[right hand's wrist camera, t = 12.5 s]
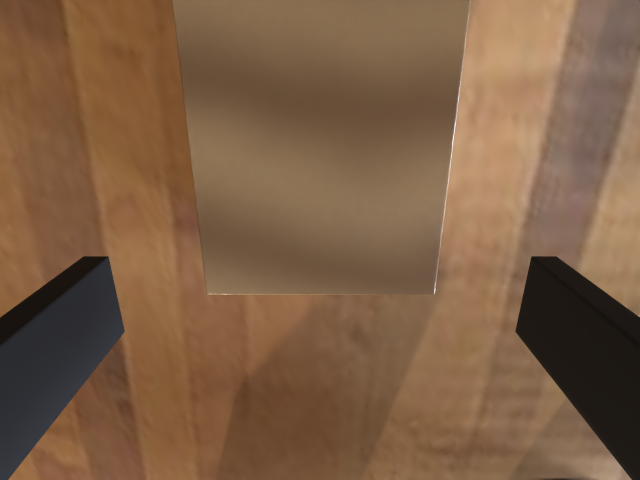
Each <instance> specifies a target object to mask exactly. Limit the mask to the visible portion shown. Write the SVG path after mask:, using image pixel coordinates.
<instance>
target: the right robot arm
mask: <svg viewBox="0 0 640 480" xmlns="http://www.w3.org/2000/svg"><path fill="white" fill-rule="evenodd" d="M124 332H125V331H124V326H123V322H122V317H121V313H120V308H119V303H118V299H117V294H116V289H115V285H114V280H113V276H112V271H111V266H110V262H109V257H82V258H81V259H80V260H78V261H77V262H76V263H74V264H73V265H71V266H70V267H69V268H67V269H66V270H65V271H63V272H62V273H61V274H59V275H58V276H56V277H55V278H54V279H52V280H51V281H50V282H48V283H47V284H46V285H44V286H43V287H41V288H40V289H39V290H37V291H36V292H35V293H33V294H32V295H31V296H29V297H28V298H26V299H25V300H24V301H22V302H21V303H20V304H18V305H17V306H16V307H14V308H13V309H11V310H10V311H9V312H7V313H6V314H5V315H3V316H2V317H0V480H8V479H9V478H10V477H11V475H12V474H13V473H14V471H15V470H16V469H17V468H18V466H19V465H20V464H21V463H22V461H23V460H24V459H25V457H26V456H27V455H28V454H29V452H30V451H31V450H32V449H33V447H34V446H35V445H36V443H37V442H38V441H39V440H40V438H41V437H42V436H43V435H44V433H45V432H46V431H47V430H48V428H49V427H50V426H51V424H52V423H53V422H54V421H55V419H56V418H57V417H58V416H59V414H60V413H61V412H62V410H63V409H64V408H65V407H66V405H67V404H68V403H69V402H70V400H71V399H72V398H73V396H74V395H75V394H76V393H77V391H78V390H79V389H80V388H81V386H82V385H83V384H84V383H85V381H86V380H87V379H88V377H89V376H90V375H91V374H92V372H93V371H94V370H95V369H96V367H97V366H98V365H99V363H100V362H101V361H102V360H103V358H104V357H105V356H106V355H107V353H108V352H109V351H110V349H111V348H112V347H113V346H114V344H115V343H116V342H117V341H118V339H119V338H120V337H121V335H122V334H123V333H124ZM515 332H516V333H517V334H518V335H519V337H520V338H521V339H522V341H523V342H524V343H525V344H526V346H527V347H528V348H529V349H530V351H531V352H532V353H533V355H534V356H535V357H536V358H537V360H538V361H539V362H540V363H541V365H542V366H543V367H544V369H545V370H546V371H547V372H548V374H549V375H550V376H551V377H552V379H553V380H554V381H555V383H556V384H557V385H558V386H559V388H560V389H561V390H562V391H563V393H564V394H565V395H566V396H567V398H568V399H569V400H570V402H571V403H572V404H573V405H574V407H575V408H576V409H577V410H578V412H579V413H580V414H581V416H582V417H583V418H584V419H585V421H586V422H587V423H588V424H589V426H590V427H591V428H592V430H593V431H594V432H595V433H596V435H597V436H598V437H599V438H600V440H601V441H602V442H603V443H604V445H605V446H606V447H607V449H608V450H609V451H610V452H611V454H612V455H613V456H614V457H615V459H616V460H617V461H618V463H619V464H620V465H621V466H622V468H623V469H624V470H625V471H626V473H627V474H628V475H629V477H630V478H631V479H632V480H640V317H638V316H637V315H635V314H634V313H633V312H631V311H630V310H629V309H627V308H626V307H624V306H623V305H622V304H620V303H619V302H618V301H616V300H615V299H614V298H612V297H611V296H609V295H608V294H607V293H605V292H604V291H603V290H601V289H600V288H599V287H597V286H596V285H594V284H593V283H592V282H590V281H589V280H588V279H586V278H585V277H584V276H582V275H581V274H579V273H578V272H577V271H575V270H574V269H573V268H571V267H570V266H569V265H567V264H566V263H564V262H563V261H562V260H560V259H559V258H558V257H531V262H530V266H529V271H528V276H527V280H526V285H525V289H524V294H523V299H522V303H521V308H520V313H519V317H518V322H517V326H516V331H515Z"/></svg>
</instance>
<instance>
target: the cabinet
mask: <svg viewBox="0 0 640 480" xmlns="http://www.w3.org/2000/svg"><path fill="white" fill-rule="evenodd" d="M172 3H173V12H174V20H175V29H176V37H177V46H178V55H179V63H180V72H181V80H182V89H183V97H184V106H185V114H186V123H187V131H188V140H189V148H190V157H191V165H192V174H193V182H194V191H195V199H196V208H197V216H198V225H199V233H200V242H201V250H202V259H203V267H204V276H205V284H206V293H207V294H271V295H434V294H435V286H436V278H437V270H438V262H439V254H440V246H441V237H442V229H443V221H444V213H445V205H446V197H447V189H448V181H449V173H450V165H451V157H452V148H453V140H454V132H455V124H456V116H457V108H458V100H459V92H460V84H461V76H462V68H463V59H464V51H465V43H466V35H467V27H468V19H469V11H470V3H471V0H172Z"/></svg>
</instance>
